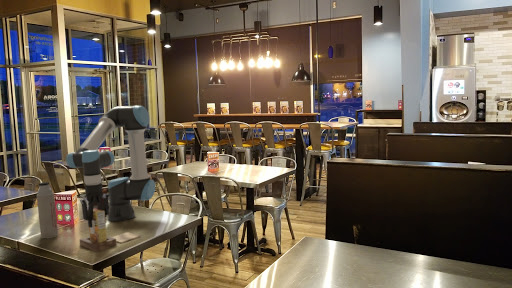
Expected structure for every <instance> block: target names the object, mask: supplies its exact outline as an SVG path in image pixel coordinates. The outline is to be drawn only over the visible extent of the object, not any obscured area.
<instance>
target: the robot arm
mask: <svg viewBox="0 0 512 288" xmlns="http://www.w3.org/2000/svg"><path fill="white" fill-rule="evenodd" d="M149 124H150V115H149V111H148V109H146V107H144V106H143V105H124V106H123V105H122V106H115V107H112V108H111V109H109V110H107V111H106V112H105V113H104V114H103V115H101V117H100V118H99V120H98V124H97V125H96V126H95V127H94V129H93V130H92V131H91V133H90V134H89V135H88V137H86V139H85V140H84V142H83V143H81V145H80V147H78V149H77V150H76V151H72V152H69V153H67V155H66V158H65V162H66V164H67V167H69V168H74V169H75V168H76V169H78V168H79V169H83V181H84V184H85V185H84V193H85V196H84V198H80V199H79V203H80V204H81V209H82V218H83V220H84V221H87V225H88V228H89V227H90V231H91V234H95V225H94V220H92V218H93V208H94V205H95V203H96V204H97V206H98V209H100V210H104V211H105V218H106V217H107V220H108V221H110V222H123V221H128V220H130V219H131V220H132V219H133V218H135V216H136V213H135V210H134V208H133V206H132V202H131V201H142V202H144V201H150V200H151V199H152V198H153V197H154V195H155V192H156V182H155V180H154V179H151V175H150V174H149V173H148V167H147V166H148V165H147V156H146V155H147V154H146V144H145V143H146V141H145V134H144V132H145V131H146V130H147V126H149ZM117 128H124V132H126V133H127V137H128V138H127V139H128V148H129V149H128V150H129V159H130V170H131V175H130V177H129V176H125V177H124V176H123V177H119V178H115V179H111V180H110V181H108V183H107V192H108V194H109V195H108V194H103V192H102V189H103V184H102V171H101V170H102V169H103V168H107V167H109V166H112V165H113V164H114V163H115V157H116V156H115V154H114V153H113V152H112V151H110V150H103V151H99V150H98V149H99V148H100V146H101V145H102V144H103V143H104V142H105V140H106V139H107V138H108V137H109V136H108V135H109V134H110V133H112V132H114V131H115V130H116V129H117ZM102 197H103V206H102V201H101V199H102ZM108 201H109V202H110V207H109V208H108ZM105 223H106V220H105Z"/></svg>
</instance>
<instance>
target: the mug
mask: <svg viewBox="0 0 512 288" xmlns="http://www.w3.org/2000/svg"><path fill="white" fill-rule="evenodd" d="M102 192H103V194H108V195H109V192H108V188H102ZM101 201H102V206H103V197H102V199H101ZM94 208H96V209H98V206H97V204H96V203H95V205H94ZM109 208H110V201H109V200H108V209H109Z"/></svg>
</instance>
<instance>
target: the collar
mask: <svg viewBox="0 0 512 288" xmlns="http://www.w3.org/2000/svg"><path fill="white" fill-rule="evenodd" d="M106 236H107V240H106V241H103V242H100V243H96V242H93V241H90V235H89V236H86V237H83V238H80V239H79V246H80V247H83V248H85V247H86V249H87V250H92V251H93V252H97V253H98V252H101V251H104V250H106V249H109V248H111V247H115V246H117V242H116V239H115V238H111V237H112V236H108V235H106Z"/></svg>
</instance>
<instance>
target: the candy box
mask: <svg viewBox="0 0 512 288" xmlns="http://www.w3.org/2000/svg"><path fill="white" fill-rule="evenodd" d="M92 220H94V225H95V234H91V231H90V227H89V226H88V231H89V236H90V241H93V242H96V243H100V242H103V241H106V240H107V236H108V235H107V228H106V227H107V225H106V222H105V221H106V217H105V211H104V210H100V209H96V208H93V218H92Z"/></svg>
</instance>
